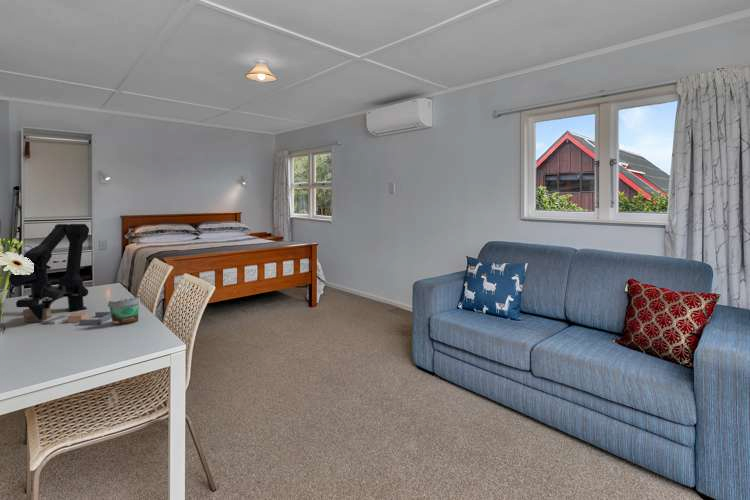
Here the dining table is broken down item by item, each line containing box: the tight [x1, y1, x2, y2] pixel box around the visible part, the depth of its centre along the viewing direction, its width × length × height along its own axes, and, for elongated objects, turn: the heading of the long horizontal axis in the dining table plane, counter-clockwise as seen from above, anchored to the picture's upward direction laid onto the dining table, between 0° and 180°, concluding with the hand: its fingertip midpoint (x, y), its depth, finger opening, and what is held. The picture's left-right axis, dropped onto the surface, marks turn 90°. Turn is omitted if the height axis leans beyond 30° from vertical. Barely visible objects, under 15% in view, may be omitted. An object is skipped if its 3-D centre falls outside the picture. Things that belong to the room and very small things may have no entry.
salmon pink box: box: [67, 311, 89, 324], centre depth 173 cm, size 5×5×3 cm
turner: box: [22, 307, 69, 325], centre depth 172 cm, size 14×8×5 cm, turn 94°
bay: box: [78, 311, 112, 326], centre depth 174 cm, size 8×12×2 cm, turn 4°
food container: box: [107, 295, 141, 326], centre depth 170 cm, size 12×6×10 cm, turn 148°
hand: (42, 318), depth 172 cm, fingers closed on turner, 2 cm apart
